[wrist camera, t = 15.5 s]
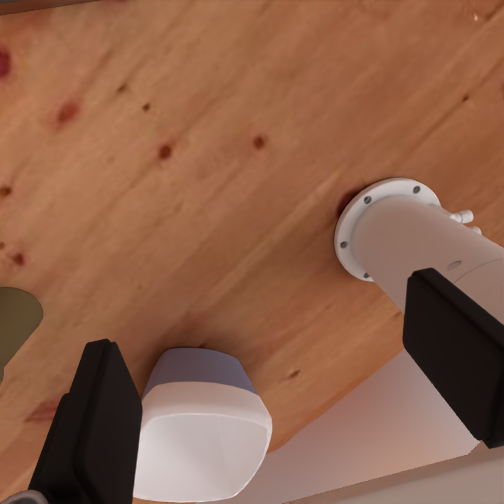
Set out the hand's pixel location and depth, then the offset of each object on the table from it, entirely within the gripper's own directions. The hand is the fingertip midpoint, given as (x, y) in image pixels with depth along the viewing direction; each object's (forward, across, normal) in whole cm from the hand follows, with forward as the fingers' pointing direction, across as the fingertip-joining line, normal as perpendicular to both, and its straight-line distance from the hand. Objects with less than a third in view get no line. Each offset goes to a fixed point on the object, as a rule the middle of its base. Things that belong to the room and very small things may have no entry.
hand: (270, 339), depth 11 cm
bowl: (+26, +8, +28) cm, 39 cm away
